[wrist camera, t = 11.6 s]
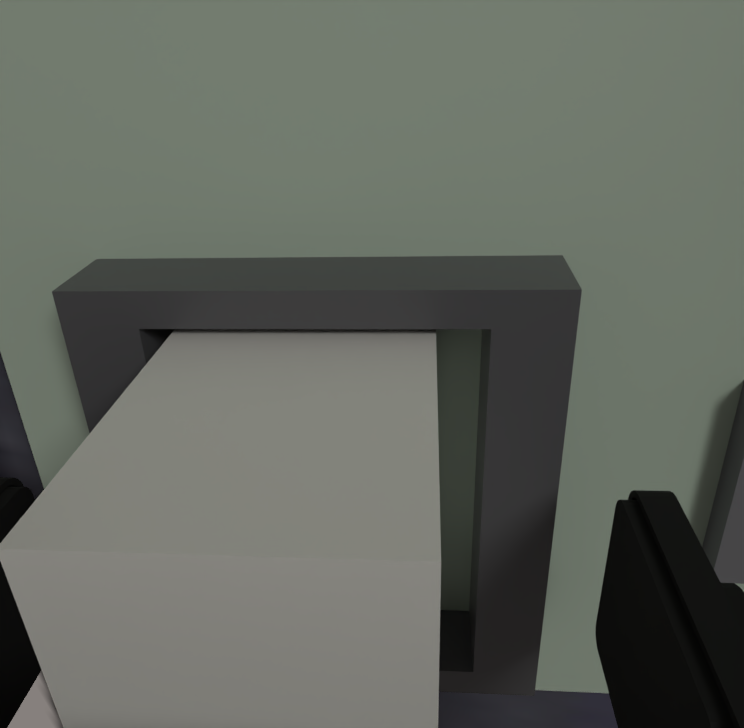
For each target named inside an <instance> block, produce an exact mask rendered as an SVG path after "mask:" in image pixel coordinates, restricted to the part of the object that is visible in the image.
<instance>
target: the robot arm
mask: <svg viewBox="0 0 744 728" xmlns="http://www.w3.org/2000/svg"><path fill="white" fill-rule="evenodd" d="M34 501H35V499H34V496H33V494H32V492H31V490H30V489H29V488H27V487H24V486H23V484H22V482H21V481H19V480H18V479H16V478H0V543H1V542H2V541H3V539H4V538H5V537H6V536H7V534H8V533H9V532H10V531H11V530H12V528H13V527H14V526H15V525H16V523H17V522H18V521H19V520H20V518H21V517H22V516H23V515H24V514H25V512H26V511H27V510H28V509H29V507H30V506H31V505H32V504H33V503H34ZM595 634H596V644H597V650H598V654H599V657H600V661H601V665H602V669H603V672H604V676H605V680H606V684H607V687H608V691H609V695H610V699H611V703H612V706H613V710H614V714H615V718H616V721H617V725H618V728H744V592H743V590H742V589H741V588H740V587H739V586H738V585H736V584H735V583H721V582H720V581H719V579H718V577H717V575H716V573H715V571H714V569H713V567H712V565H711V563H710V561H709V559H708V557H707V555H706V553H705V551H704V550H703V548H702V546H701V544H700V542H699V540H698V538H697V536H696V534H695V532H694V530H693V528H692V526H691V524H690V522H689V520H688V519H687V517H686V515H685V513H684V511H683V509H682V507H681V505H680V503H679V501H678V499H677V497H676V496H675V494H674V493H673V492H671V491H646V490H633V491H631V493H630V494H629V497H628V500H618V501H617V503H616V507H615V513H614V519H613V525H612V531H611V536H610V542H609V548H608V554H607V560H606V566H605V572H604V578H603V584H602V590H601V596H600V602H599V608H598V614H597V620H596V631H595ZM40 671H41V667H40V665H39V662H38V659H37V657H36V654H35V652H34V649H33V646H32V644H31V641H30V638H29V636H28V633H27V630H26V628H25V625H24V622H23V620H22V617H21V614H20V612H19V609H18V606H17V604H16V601H15V599H14V596H13V593H12V591H11V588H10V585H9V583H8V580H7V577H6V575H5V572H4V569H3V567H2V564H1V561H0V728H7V727H8V725H9V724H10V722H11V720H12V719H13V717H14V715H15V713H16V712H17V710H18V708H19V707H20V705H21V703H22V702H23V700H24V698H25V697H26V695H27V693H28V692H29V690H30V688H31V687H32V685H33V683H34V681H35V680H36V678H37V676H38V675H39V673H40Z"/></svg>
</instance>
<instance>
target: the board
mask: <svg viewBox="0 0 744 728" xmlns="http://www.w3.org/2000/svg"><path fill="white" fill-rule="evenodd" d="M531 255H563V257H564V259H565V260H566V262H567V264H568V266H569V268H570V269H571V271H572V273H573V275H574V276H575V278H576V280H577V282H578V284H579V285H580V287H581V289H582V293H581V301H580V310H579V319H578V327H577V336H576V344H575V353H574V361H573V370H572V378H571V387H570V396H569V404H568V413H567V421H566V430H565V438H564V447H563V455H562V464H561V473H560V481H559V490H558V498H557V507H556V515H555V524H554V532H553V541H552V550H551V558H550V567H549V575H548V584H547V592H546V601H545V609H544V618H543V627H542V635H541V644H540V652H539V661H538V669H537V678H536V686H535V690H548V691H570V692H593V693H609V691H608V687H607V684H606V680H605V676H604V672H603V669H602V665H601V661H600V657H599V654H598V650H597V644H596V634H595V631H596V620H597V614H598V608H599V602H600V596H601V590H602V584H603V578H604V572H605V566H606V560H607V554H608V548H609V542H610V536H611V531H612V525H613V519H614V513H615V507H616V503H617V501H618V500H628V497H629V494H630V493H631V491H633V490H646V491H671V492H673V493H674V494H675V496H676V497H677V499H678V501H679V503H680V505H681V507H682V509H683V511H684V513H685V515H686V517H687V519H688V520H689V522H690V524H691V526H692V528H693V530H694V532H695V534H696V536H697V538H698V540H699V542H700V544H701V546H702V548H703V550H704V551H705V553H706V555H707V557H708V559H709V561H710V563H711V565H712V567H713V569H714V571H715V573H716V575H717V577H718V579H719V581H720V582H721V583H735V584H736V585H738V586H739V587H740V588H741V589H742V590H743V592H744V0H0V352H1V355H2V358H3V361H4V364H5V368H6V371H7V374H8V377H9V380H10V383H11V387H12V390H13V393H14V396H15V399H16V402H17V405H18V409H19V412H20V415H21V418H22V421H23V424H24V427H25V431H26V434H27V437H28V440H29V443H30V446H31V449H32V453H33V456H34V459H35V462H36V465H37V468H38V471H39V475H40V478H41V481H42V484H43V487H44V489H45V488H46V487H47V485H48V484H49V483H50V482H51V480H52V479H53V478H54V477H55V476H56V474H57V473H58V472H59V471H60V469H61V468H62V467H63V466H64V465H65V463H66V462H67V461H68V460H69V458H70V457H71V456H72V455H73V453H74V452H75V451H76V450H77V449H78V447H79V446H80V445H81V444H82V442H83V441H84V440H85V439H86V438H87V436H88V435H89V434H90V433H89V429H88V426H87V422H86V418H85V414H84V411H83V407H82V403H81V399H80V396H79V392H78V388H77V384H76V381H75V377H74V373H73V369H72V366H71V362H70V358H69V354H68V351H67V347H66V343H65V339H64V336H63V332H62V328H61V324H60V321H59V317H58V313H57V309H56V306H55V302H54V298H53V294H52V291H53V290H54V289H56V288H57V287H59V286H60V285H61V284H63V283H64V282H66V281H67V280H68V279H70V278H71V277H72V276H74V275H75V274H77V273H78V272H79V271H81V270H82V269H83V268H85V267H86V266H88V265H89V264H90V263H92V262H93V261H94V260H96V259H148V258H276V257H404V256H531ZM481 341H482V329H436V352H437V396H438V441H439V485H440V530H441V600H440V610H459V611H469V602H470V580H471V558H472V536H473V515H474V493H475V471H476V450H477V428H478V406H479V384H480V363H481Z"/></svg>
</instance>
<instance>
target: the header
mask: <svg viewBox="0 0 744 728" xmlns="http://www.w3.org/2000/svg"><path fill="white" fill-rule="evenodd" d="M581 293H582V289H581V287H580V285H579V284H578V282H577V280H576V278H575V276H574V275H573V273H572V271H571V269H570V268H569V266H568V264H567V262H566V260H565V259H564V257H563V255H531V256H404V257H276V258H148V259H96V260H94V261H93V262H92V263H90V264H89V265H88V266H86V267H85V268H83V269H82V270H81V271H79V272H78V273H77V274H75V275H74V276H72V277H71V278H70V279H68V280H67V281H66V282H64V283H63V284H61V285H60V286H59V287H57V288H56V289H54V290H53V291H52V294H53V298H54V302H55V306H56V309H57V313H58V317H59V321H60V324H61V328H62V332H63V336H64V339H65V343H66V347H67V351H68V354H69V358H70V362H71V366H72V369H73V373H74V377H75V381H76V384H77V388H78V392H79V396H80V399H81V403H82V407H83V411H84V414H85V418H86V422H87V426H88V429H89V433H91V431H92V430H93V429H94V428H95V426H96V425H97V424H98V423H99V422H100V420H101V419H102V418H103V417H104V415H105V414H106V413H107V412H108V411H109V409H110V408H111V407H112V406H113V404H114V403H115V402H116V401H117V400H118V398H119V397H120V396H121V395H122V393H123V392H124V391H125V390H126V388H127V387H128V386H129V385H130V384H131V382H132V381H133V380H134V379H135V377H136V376H137V375H138V374H139V373H140V371H141V370H142V369H143V368H144V366H145V365H146V364H147V363H148V361H149V360H150V359H151V358H152V357H153V355H154V354H155V353H156V352H157V350H158V349H159V348H160V347H161V346H162V344H163V343H164V342H165V341H166V339H167V338H168V337H169V336H170V334H171V333H172V332H173V331H174V330H175V329H482V341H481V363H480V384H479V406H478V428H477V450H476V471H475V493H474V515H473V536H472V558H471V580H470V602H469V611H459V610H440V652H439V691H440V692H462V693H484V694H506V695H529V696H534V695H535V686H536V678H537V669H538V661H539V652H540V644H541V635H542V627H543V618H544V609H545V601H546V592H547V584H548V575H549V567H550V558H551V550H552V541H553V532H554V524H555V515H556V507H557V498H558V490H559V481H560V473H561V464H562V455H563V447H564V438H565V430H566V421H567V413H568V404H569V396H570V387H571V378H572V370H573V361H574V353H575V344H576V336H577V327H578V319H579V310H580V301H581Z"/></svg>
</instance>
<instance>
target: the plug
mask: <svg viewBox="0 0 744 728" xmlns="http://www.w3.org/2000/svg"><path fill="white" fill-rule="evenodd" d="M0 561H1V564H2V567H3V569H4V572H5V575H6V577H7V580H8V583H9V585H10V588H11V591H12V593H13V596H14V599H15V601H16V604H17V606H18V609H19V612H20V614H21V617H22V620H23V622H24V625H25V628H26V630H27V633H28V636H29V638H30V641H31V644H32V646H33V649H34V652H35V654H36V657H37V659H38V662H39V665H40V667H41V670H42V673H43V675H44V678H45V681H46V683H47V686H48V689H49V691H50V694H51V697H52V699H53V702H54V705H55V707H56V710H57V712H58V715H59V718H60V720H61V723H62V726H63V728H438V704H439V652H440V600H441V530H440V485H439V441H438V396H437V352H436V329H175V330H174V331H173V332H172V333H171V334H170V336H169V337H168V338H167V339H166V341H165V342H164V343H163V344H162V346H161V347H160V348H159V349H158V350H157V352H156V353H155V354H154V355H153V357H152V358H151V359H150V360H149V361H148V363H147V364H146V365H145V366H144V368H143V369H142V370H141V371H140V373H139V374H138V375H137V376H136V377H135V379H134V380H133V381H132V382H131V384H130V385H129V386H128V387H127V388H126V390H125V391H124V392H123V393H122V395H121V396H120V397H119V398H118V400H117V401H116V402H115V403H114V404H113V406H112V407H111V408H110V409H109V411H108V412H107V413H106V414H105V415H104V417H103V418H102V419H101V420H100V422H99V423H98V424H97V425H96V426H95V428H94V429H93V430H92V431H91V433H90V434H89V435H88V436H87V438H86V439H85V440H84V441H83V442H82V444H81V445H80V446H79V447H78V449H77V450H76V451H75V452H74V453H73V455H72V456H71V457H70V458H69V460H68V461H67V462H66V463H65V465H64V466H63V467H62V468H61V469H60V471H59V472H58V473H57V474H56V476H55V477H54V478H53V479H52V480H51V482H50V483H49V484H48V485H47V487H46V488H45V489H44V490H43V491H42V493H41V494H40V495H39V496H38V498H37V499H36V500H35V501H34V503H33V504H32V505H31V506H30V507H29V509H28V510H27V511H26V512H25V514H24V515H23V516H22V517H21V518H20V520H19V521H18V522H17V523H16V525H15V526H14V527H13V528H12V530H11V531H10V532H9V533H8V534H7V536H6V537H5V538H4V539H3V541H2V542H1V543H0Z"/></svg>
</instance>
